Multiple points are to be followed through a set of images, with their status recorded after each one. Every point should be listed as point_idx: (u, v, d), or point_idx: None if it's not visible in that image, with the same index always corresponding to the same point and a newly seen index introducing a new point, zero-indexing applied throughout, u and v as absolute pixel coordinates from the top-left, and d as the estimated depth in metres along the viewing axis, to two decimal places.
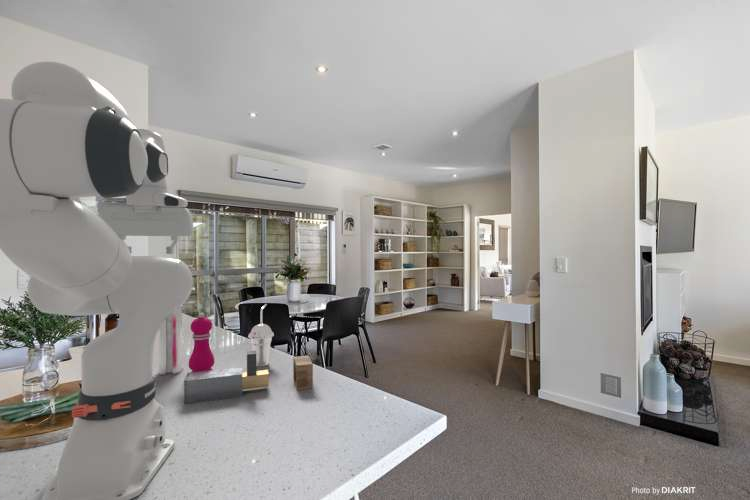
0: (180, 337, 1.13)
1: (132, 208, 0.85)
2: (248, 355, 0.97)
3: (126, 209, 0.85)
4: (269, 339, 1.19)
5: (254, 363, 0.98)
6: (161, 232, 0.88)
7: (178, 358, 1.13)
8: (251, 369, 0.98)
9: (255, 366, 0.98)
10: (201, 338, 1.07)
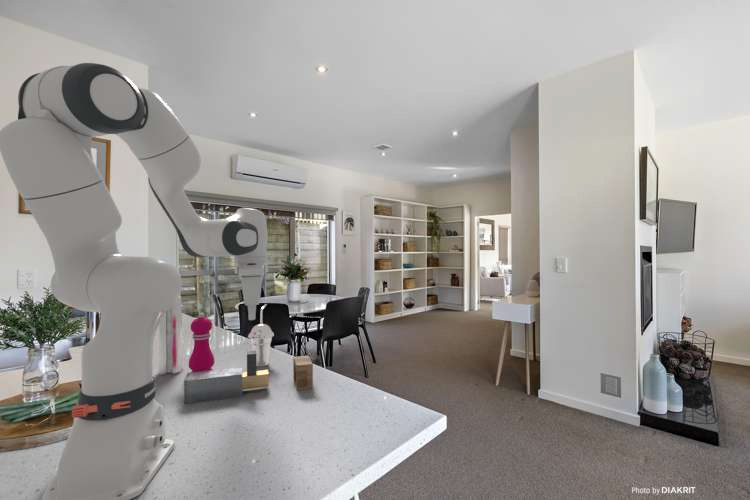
0: (180, 337, 1.13)
1: None
2: (248, 355, 0.97)
3: None
4: (269, 339, 1.19)
5: (254, 363, 0.98)
6: None
7: (178, 358, 1.13)
8: (251, 369, 0.98)
9: (255, 366, 0.98)
10: (201, 338, 1.07)
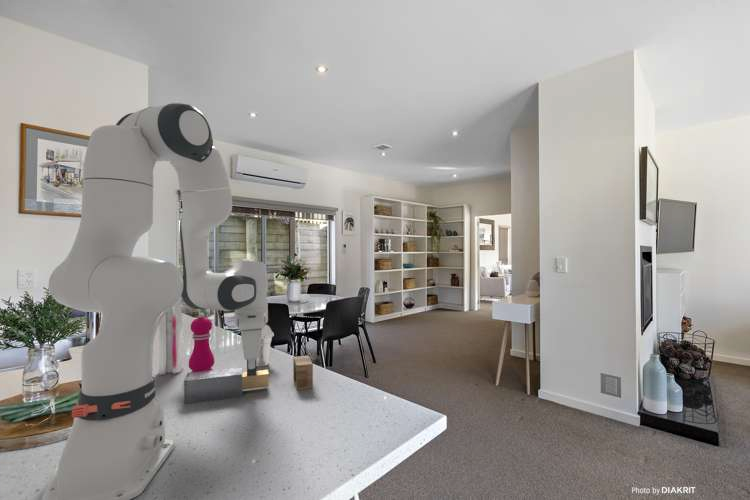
0: (180, 337, 1.13)
1: None
2: None
3: None
4: (269, 339, 1.19)
5: None
6: None
7: (178, 358, 1.13)
8: (251, 369, 0.98)
9: (255, 366, 0.98)
10: (201, 338, 1.07)
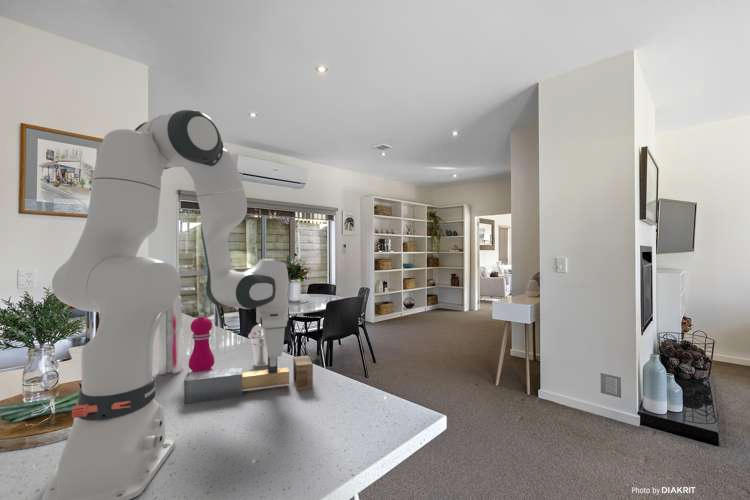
0: (180, 337, 1.13)
1: None
2: None
3: None
4: None
5: None
6: (266, 347, 0.97)
7: (178, 358, 1.13)
8: (272, 367, 1.00)
9: None
10: (201, 338, 1.07)
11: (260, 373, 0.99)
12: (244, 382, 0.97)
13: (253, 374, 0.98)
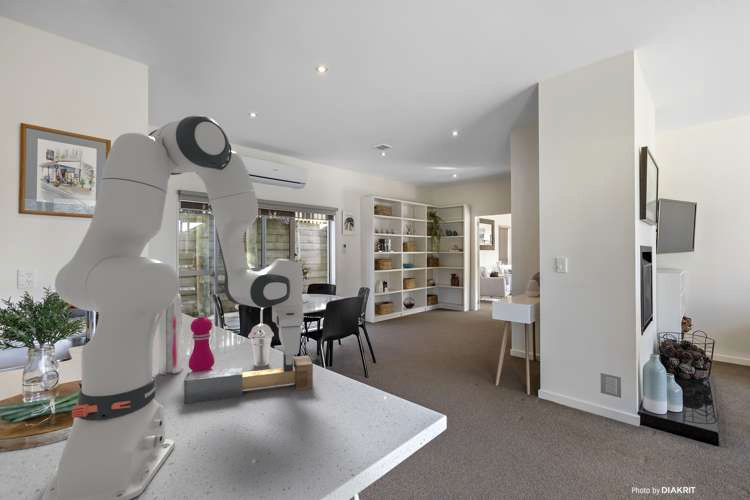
0: (180, 337, 1.13)
1: None
2: None
3: None
4: (269, 339, 1.19)
5: None
6: (282, 346, 0.99)
7: (178, 358, 1.13)
8: (288, 365, 1.01)
9: (292, 362, 1.01)
10: (201, 338, 1.07)
11: (276, 371, 1.01)
12: (260, 380, 0.98)
13: (269, 372, 1.00)
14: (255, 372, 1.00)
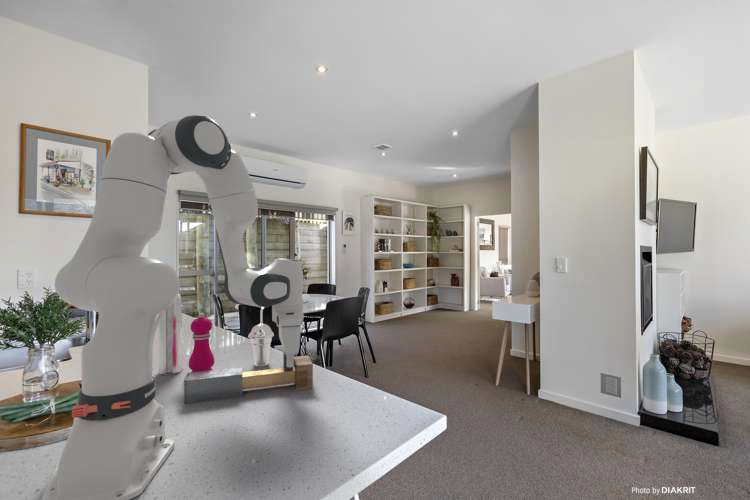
0: (180, 337, 1.13)
1: None
2: None
3: None
4: (269, 339, 1.19)
5: None
6: (282, 345, 0.99)
7: (178, 358, 1.13)
8: None
9: None
10: (201, 338, 1.07)
11: (276, 371, 1.01)
12: (260, 380, 0.98)
13: (269, 372, 1.00)
14: (255, 372, 1.00)
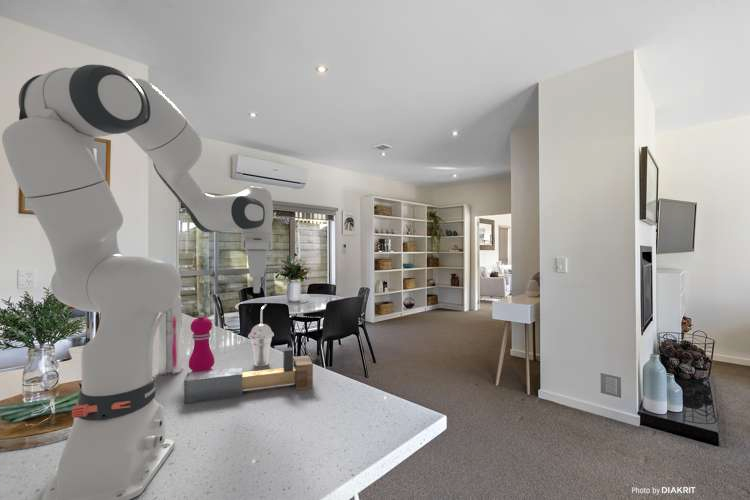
0: (180, 337, 1.13)
1: None
2: (285, 351, 1.01)
3: None
4: (269, 339, 1.19)
5: (291, 359, 1.01)
6: None
7: (178, 358, 1.13)
8: (288, 365, 1.01)
9: (292, 362, 1.01)
10: (201, 338, 1.07)
11: (276, 371, 1.01)
12: (260, 380, 0.98)
13: (269, 372, 1.00)
14: (255, 372, 1.00)
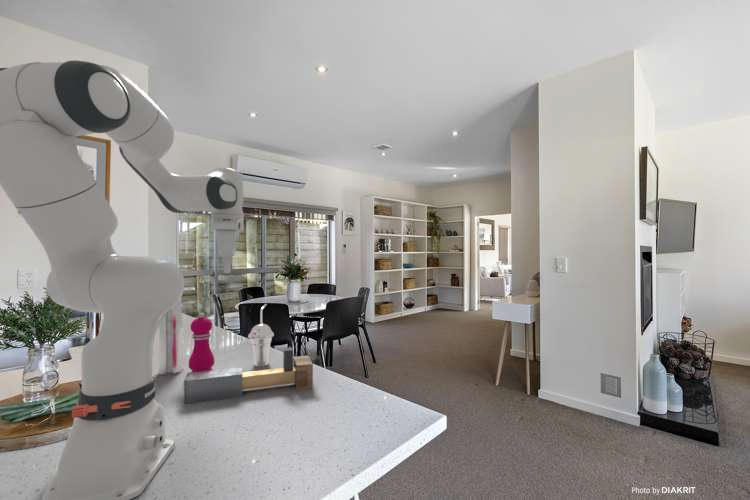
0: (180, 337, 1.13)
1: None
2: (285, 351, 1.01)
3: None
4: (269, 339, 1.19)
5: (291, 359, 1.01)
6: None
7: (178, 358, 1.13)
8: (288, 365, 1.01)
9: (292, 362, 1.01)
10: (201, 338, 1.07)
11: (276, 371, 1.01)
12: (260, 380, 0.98)
13: (269, 372, 1.00)
14: (255, 372, 1.00)
